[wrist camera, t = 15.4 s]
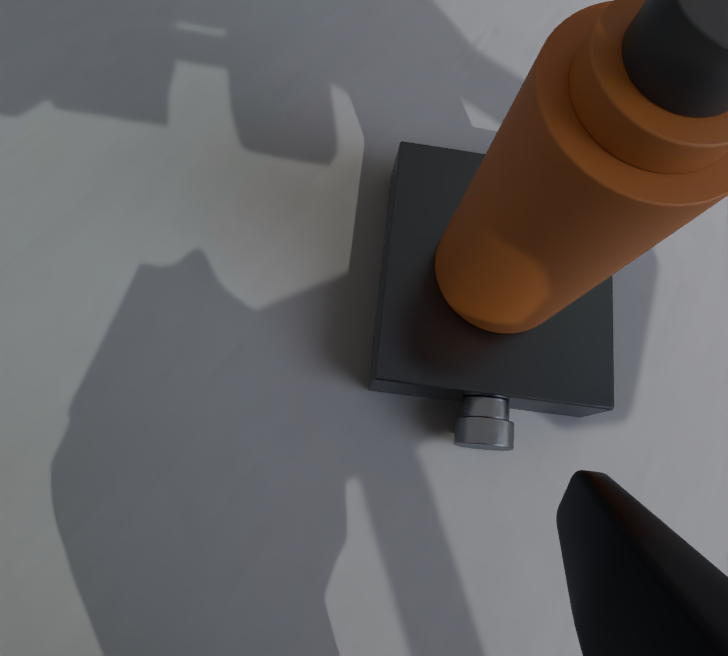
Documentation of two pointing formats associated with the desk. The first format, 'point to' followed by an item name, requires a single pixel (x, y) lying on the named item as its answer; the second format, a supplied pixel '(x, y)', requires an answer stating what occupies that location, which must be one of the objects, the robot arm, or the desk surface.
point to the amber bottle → (592, 160)
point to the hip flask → (466, 341)
